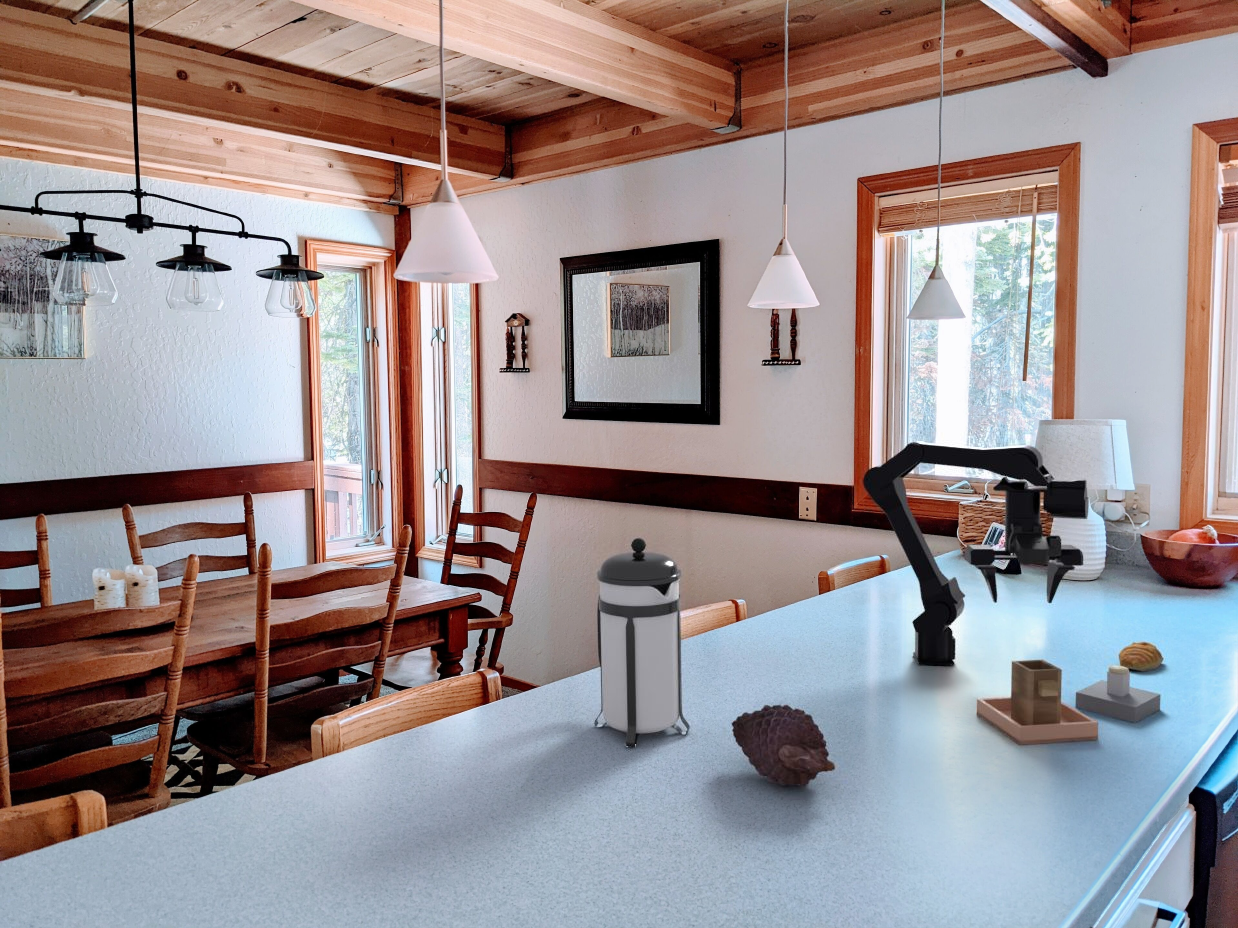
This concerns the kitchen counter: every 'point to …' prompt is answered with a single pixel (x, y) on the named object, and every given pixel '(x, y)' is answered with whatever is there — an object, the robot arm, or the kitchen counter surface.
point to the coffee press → (640, 642)
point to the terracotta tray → (1068, 730)
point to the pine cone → (782, 744)
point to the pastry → (1140, 656)
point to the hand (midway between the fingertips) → (1022, 602)
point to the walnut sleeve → (1035, 692)
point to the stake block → (1118, 697)
